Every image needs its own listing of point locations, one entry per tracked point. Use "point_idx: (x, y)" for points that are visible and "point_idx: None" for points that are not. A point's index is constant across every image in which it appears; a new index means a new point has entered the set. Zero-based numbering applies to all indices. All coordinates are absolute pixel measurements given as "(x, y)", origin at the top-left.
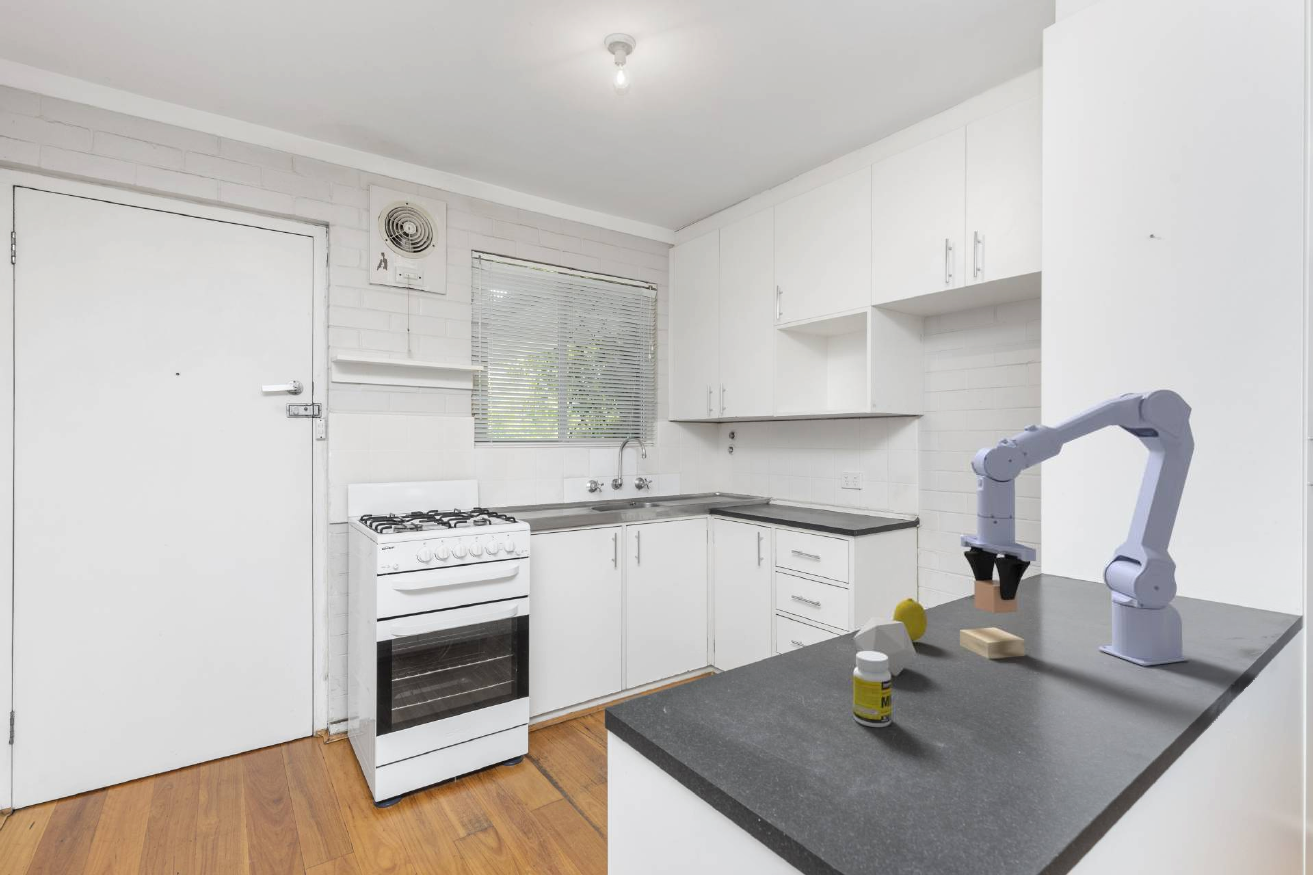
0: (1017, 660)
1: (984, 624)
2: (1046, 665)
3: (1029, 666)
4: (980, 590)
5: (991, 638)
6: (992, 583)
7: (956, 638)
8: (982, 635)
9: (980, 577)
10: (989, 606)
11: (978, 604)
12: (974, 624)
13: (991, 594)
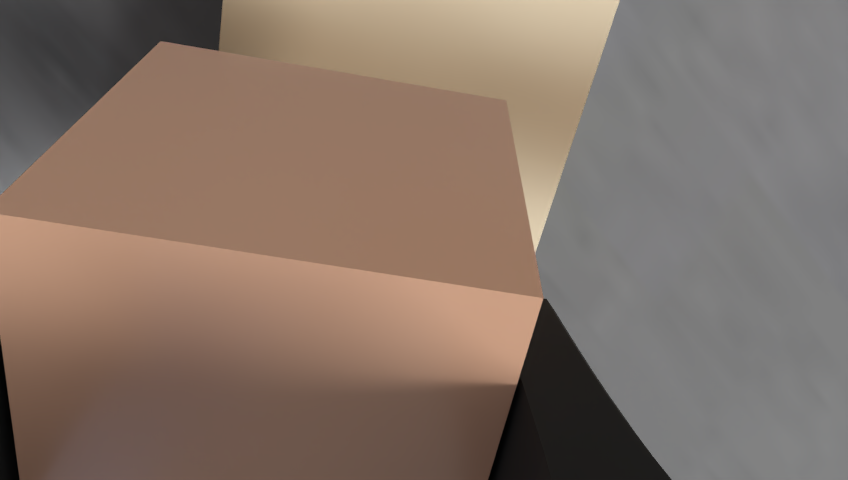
0: (171, 39)
1: (785, 457)
2: (44, 128)
3: (48, 6)
4: (381, 194)
5: (320, 16)
6: (226, 388)
7: (726, 52)
8: (414, 16)
9: (525, 464)
10: (227, 80)
11: (434, 104)
12: (828, 412)
13: (115, 142)
